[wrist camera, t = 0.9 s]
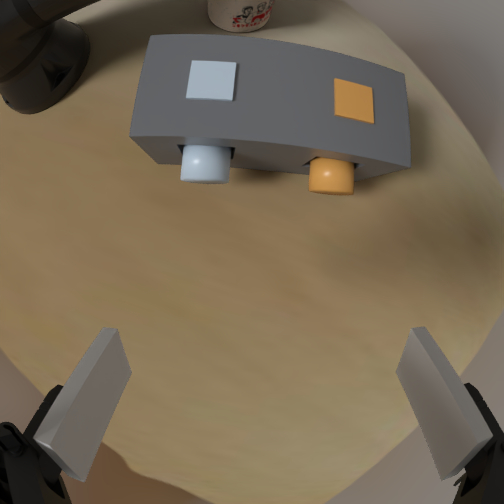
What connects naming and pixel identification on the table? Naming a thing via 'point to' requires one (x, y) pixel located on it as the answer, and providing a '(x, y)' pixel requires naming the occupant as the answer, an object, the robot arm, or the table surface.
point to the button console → (270, 105)
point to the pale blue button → (206, 164)
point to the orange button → (331, 176)
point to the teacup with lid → (239, 14)
